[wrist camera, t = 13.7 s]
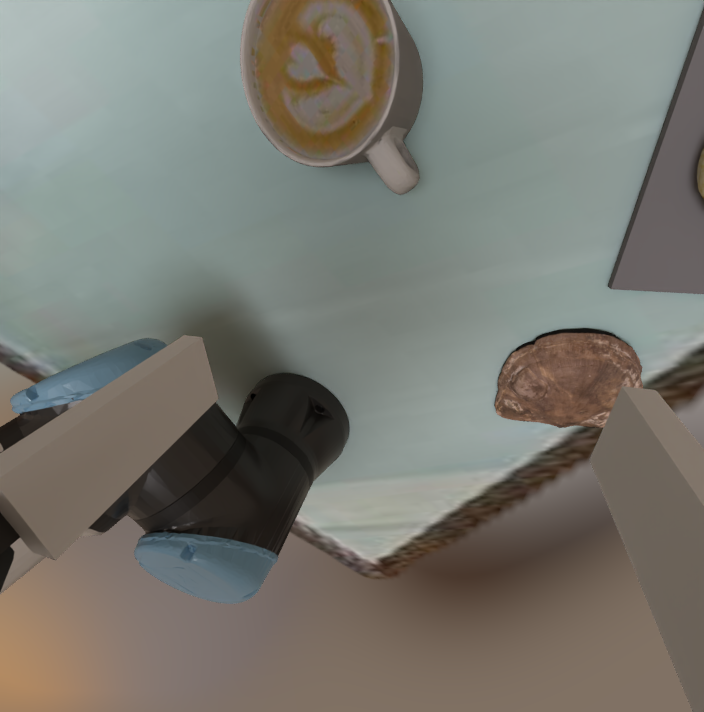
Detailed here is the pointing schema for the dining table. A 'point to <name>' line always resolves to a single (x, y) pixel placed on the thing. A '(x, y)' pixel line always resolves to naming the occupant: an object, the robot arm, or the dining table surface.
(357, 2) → the coffee mug
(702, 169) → the bread roll
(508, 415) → the shell
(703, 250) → the mat
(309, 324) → the dining table surface
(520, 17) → the dining table surface
